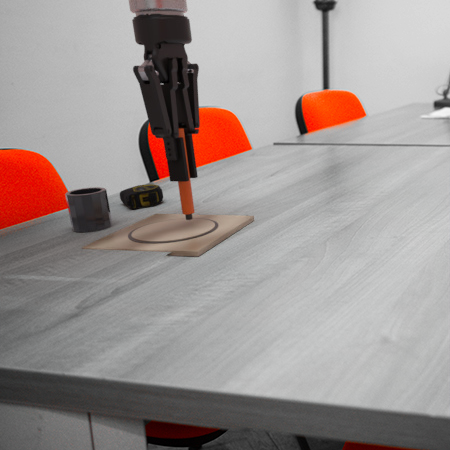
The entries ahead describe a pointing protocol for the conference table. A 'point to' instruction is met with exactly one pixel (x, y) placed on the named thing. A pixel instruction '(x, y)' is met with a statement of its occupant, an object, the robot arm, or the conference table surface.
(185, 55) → the robot arm
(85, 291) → the conference table surface
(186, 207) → the marker pen
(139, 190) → the tape measure
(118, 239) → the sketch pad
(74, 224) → the pen pot
